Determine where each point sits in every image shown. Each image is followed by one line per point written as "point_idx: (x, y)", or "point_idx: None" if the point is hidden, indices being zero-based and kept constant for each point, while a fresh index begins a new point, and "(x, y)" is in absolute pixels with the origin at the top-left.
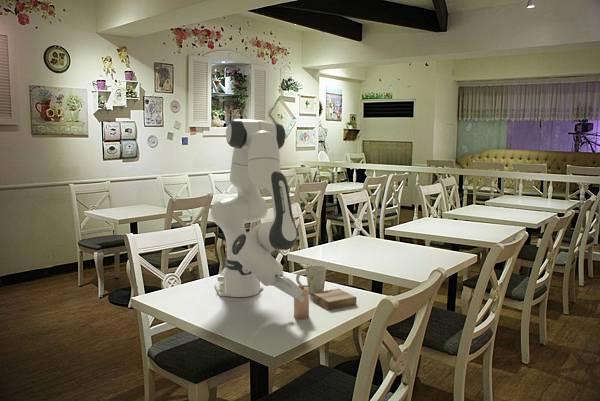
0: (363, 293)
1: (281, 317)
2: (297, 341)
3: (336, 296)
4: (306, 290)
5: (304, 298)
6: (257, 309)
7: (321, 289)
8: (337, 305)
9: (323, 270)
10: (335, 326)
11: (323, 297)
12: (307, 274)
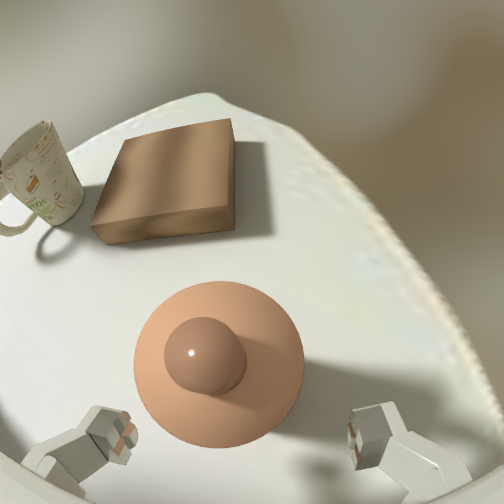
0: (166, 111)
1: (214, 480)
2: None
3: (182, 161)
4: (296, 335)
5: (393, 403)
6: None
7: (78, 185)
8: (232, 187)
9: (49, 128)
10: (429, 284)
11: (158, 205)
12: (13, 187)
